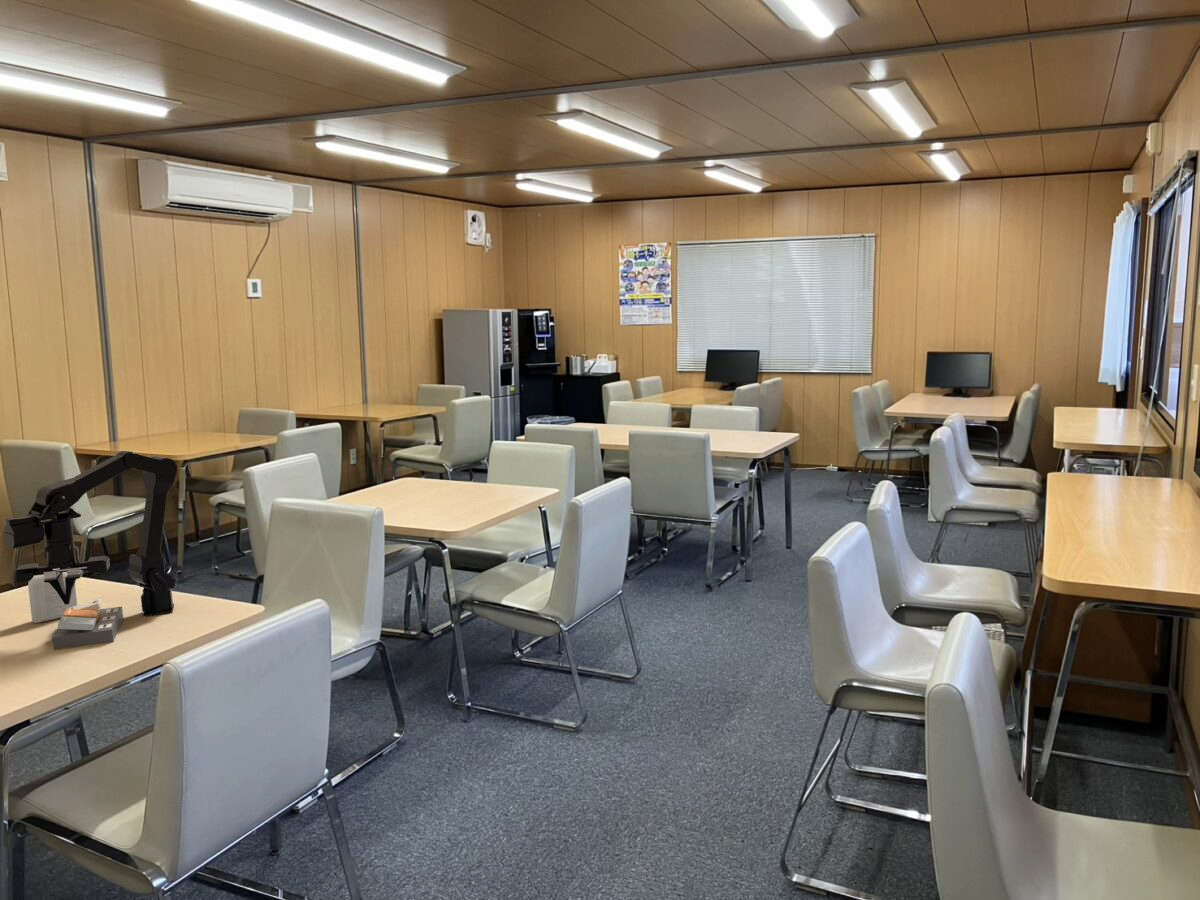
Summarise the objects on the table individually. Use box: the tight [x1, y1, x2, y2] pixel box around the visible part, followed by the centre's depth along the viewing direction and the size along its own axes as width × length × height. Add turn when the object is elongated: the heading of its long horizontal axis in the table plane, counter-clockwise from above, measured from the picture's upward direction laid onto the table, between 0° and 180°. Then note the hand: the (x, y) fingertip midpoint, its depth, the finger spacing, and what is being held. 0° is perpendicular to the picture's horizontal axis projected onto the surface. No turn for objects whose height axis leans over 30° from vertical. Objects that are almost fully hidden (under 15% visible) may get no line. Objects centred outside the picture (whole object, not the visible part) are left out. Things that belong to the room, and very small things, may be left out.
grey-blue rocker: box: [57, 617, 96, 630], centre depth 207 cm, size 7×5×2 cm, turn 112°
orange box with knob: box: [63, 609, 100, 622], centre depth 213 cm, size 7×5×2 cm, turn 112°
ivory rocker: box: [69, 597, 103, 610], centre depth 218 cm, size 7×5×2 cm, turn 111°
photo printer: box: [27, 569, 79, 624], centre depth 225 cm, size 10×4×12 cm, turn 135°
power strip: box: [51, 606, 124, 651], centre depth 214 cm, size 12×18×4 cm, turn 21°
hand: (67, 603), depth 211 cm, fingers closed
